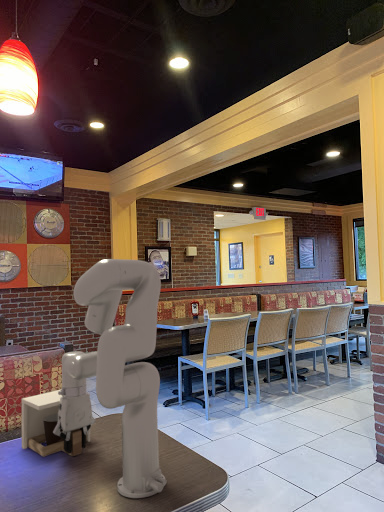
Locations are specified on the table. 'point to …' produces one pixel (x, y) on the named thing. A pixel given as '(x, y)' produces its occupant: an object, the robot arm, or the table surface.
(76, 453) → the wooden drawer
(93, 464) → the table surface
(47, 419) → the coffee mug
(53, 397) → the cream open box
